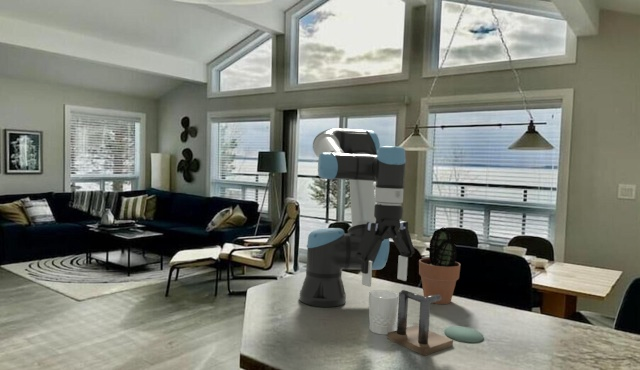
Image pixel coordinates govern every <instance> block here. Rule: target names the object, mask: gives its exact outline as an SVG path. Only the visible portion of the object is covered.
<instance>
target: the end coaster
mask: <svg viewBox="0 0 640 370" xmlns="http://www.w3.org/2000/svg"><path fill="white" fill-rule="evenodd" d="M443 332H444V335H445V337H447V338H449V339H451V340H453V341H454V340H455V341H458V342H463V343H474V344H475V343H479V342H482V341H483V340H484V334H483V333H482V332H481V331H479V330H477V329H475V328H474V329H473V328H471V327H468V326H460V325H452V326H447V327H445V328H444V330H443Z"/></svg>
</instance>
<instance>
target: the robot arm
mask: <svg viewBox="0 0 640 370" xmlns="http://www.w3.org/2000/svg"><path fill="white" fill-rule="evenodd" d="M312 150H313V152H314V155H316V157H317V158H318V160H317V175H318V177H319V178H321V179H327V180H347V181H348V180H349V192H350V193H349V194H350V212H351V213H350V215H351V226H349V227H348V229H347V232H346V233H345V230H344V228H340V227H328V228H327V227H326V228H319V229H315V230H313V231H310V233H309V234H308V236H307V244H306V248H307V250H306V267H305V277H304V280H303V282H302V286H301V289H300V291H299V301H300V302H302V303H303V304H305V305H308V306H312V307H320V308H332V307H334V308H335V307H339V306H342V305H344V304H345V303H346V298H347V294H346V289H345V286H344V283H343V279H342V273H343V270H360V271H361V275H362V277H361V285H362V286H365V287H369V288H370V287H372V279H373V276H372V275H373V271H374V270H375V271H377V270H382V269H383V268H384V267H386V263H387V262H388V258H389V253H390V239H391V240H392V241H393V243H394V245H395V246H396V248H397V250H398V252H399V253H400V255H398V258H397V259H398V260H397V261H398V263H397V280H401V281H403V282H407V279H408V278H407V276H408V268H409V258H412V257H413V255H414V254H415V247H414V245H413V242H412V237H411V235H410V231H409V222H408V221H406V220H405V221H404V220H403V215H404V214H403V213H404V207H403V205H401V204H403V203H404V188H405V172H406V170H405V169H406V163H407V158H406V149H405V148H404V147H402V146H392V145H391V146H389V145H385V146H383V145H382V146H381V144H380V139H379V136H378V134H377V133H376V132H375V131H373V130H370V129H365V128H363V129H354V128H352V129H351V128H341V127H339V128H338V127H334V128H328V129H325V130H323V131H321V132H319V133H318V134H317V135H316V136H315V137H314V139H313V141H312ZM374 182H375V183H374Z"/></svg>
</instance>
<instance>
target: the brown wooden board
mask: <svg viewBox="0 0 640 370" xmlns="http://www.w3.org/2000/svg"><path fill="white" fill-rule="evenodd" d="M418 333H419V325H416V324H415V325H411V326H408V327H407V329H406V335H400V334H397V329H396V330H394V331H393V332H389V333H388V334H387V339H388V340H390V341H391V342H394V343H397V344H398V345H401V346H403V347H404V348H407V349H409V350H410V351H413V352H415V353H417V354H420V355H422V356H427V355H431V354H433V353H437V352H439V351H442V350H446V349H448V348H450V347H453V346H454V344H453V342H454V339H452V338H449V337H447V336H443V335H441V334H439V333H438V332H437V333H436V332H434V331H431V330H429V334H428V344H425V345H424V344H420V343H418Z"/></svg>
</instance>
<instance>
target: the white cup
mask: <svg viewBox="0 0 640 370" xmlns="http://www.w3.org/2000/svg"><path fill="white" fill-rule="evenodd" d="M398 303H399V293H397V292H394V291H392V290H391V291H390V290H387V289H373V290H370V291H369V294H368V319H369V327H368V328H369V331H370V332H372V333H374V334H378V335H385V336H386V335H387V336H388V333H389V332H393V331H395V326H396V323H397V315H398Z"/></svg>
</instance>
